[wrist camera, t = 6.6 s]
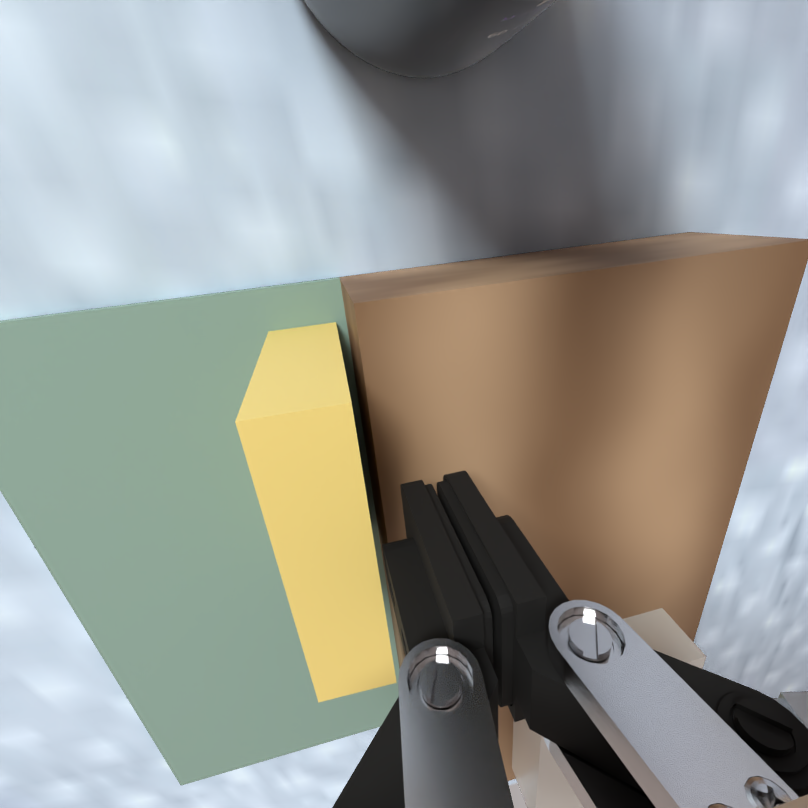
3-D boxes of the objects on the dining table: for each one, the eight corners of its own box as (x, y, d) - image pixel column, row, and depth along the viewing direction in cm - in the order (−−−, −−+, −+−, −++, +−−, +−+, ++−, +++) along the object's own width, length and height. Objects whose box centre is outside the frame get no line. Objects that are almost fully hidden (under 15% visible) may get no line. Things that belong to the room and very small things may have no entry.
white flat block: (661, 607, 16) (706, 656, 15) (633, 728, 20) (666, 779, 18) (515, 649, 15) (543, 706, 14) (511, 767, 19) (534, 825, 17)
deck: (689, 232, 15) (813, 239, 11) (613, 651, 24) (667, 727, 21) (338, 277, 13) (353, 303, 9) (405, 712, 22) (425, 808, 19)
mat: (372, 273, 13) (373, 274, 13) (424, 706, 22) (425, 713, 22) (-86, 331, 11) (-95, 334, 11) (182, 778, 21) (180, 785, 20)
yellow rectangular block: (351, 402, 8) (235, 421, 7) (396, 682, 11) (318, 702, 11) (336, 322, 13) (268, 331, 13) (369, 527, 16) (316, 538, 16)
